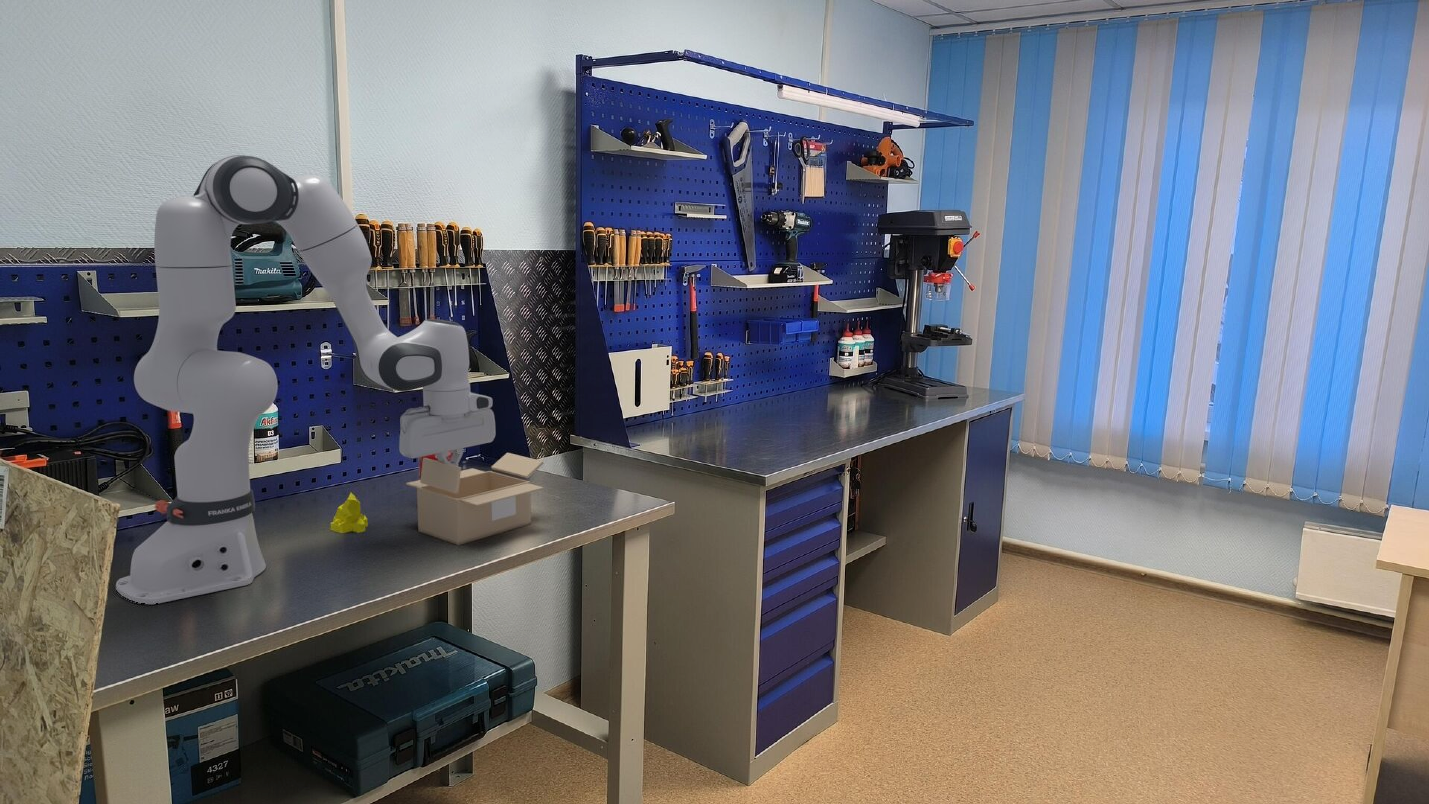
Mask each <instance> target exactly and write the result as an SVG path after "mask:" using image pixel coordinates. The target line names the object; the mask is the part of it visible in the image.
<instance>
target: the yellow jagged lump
mask: <svg viewBox="0 0 1429 804" xmlns="http://www.w3.org/2000/svg"><path fill="white" fill-rule="evenodd" d="M361 503H362V502H360V501H359V499H358V498H357V497H356V496H355V495H354V493H352V492H350V494H349V496H348V497H347V499H346V500H345V502H344V503H343V504H341V505H340V506H338V507H337V510H336V513H335V516H334V517H333V522H330V531H333V532H336V533H339V534H346V533H349V532H354V533H357V534H359V533H363V532H366V527H369V523H368V518H367V517H366V515H365V514H362V512H361V511H362V507H361Z"/></svg>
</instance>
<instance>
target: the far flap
mask: <svg viewBox="0 0 1429 804" xmlns="http://www.w3.org/2000/svg"><path fill="white" fill-rule="evenodd" d="M544 464H545V463H544V461H543V460H540V459H535V458H531V457H527V456H522V455H519V454H514V453H511V452H506V453H505V454H504V455H503V456H501V457H500V459H498V460H497V461H495V463H494V464H493V465H491V469H492V470H494V471H496V472H497V471H499V472H502V473H505V474H509V475H512V476H516V477H522V478H525V479H529V478H530V477H531V476H532V475H533V474H535V472H536V471H538V470H539V469H540V468H541V467H542V466H543V465H544Z"/></svg>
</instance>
